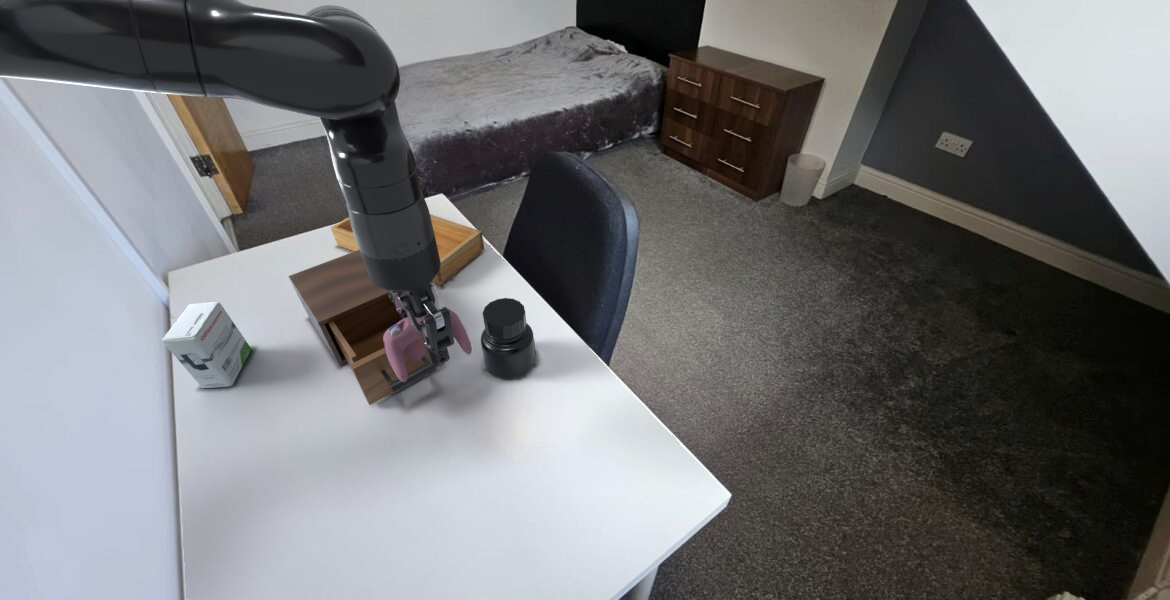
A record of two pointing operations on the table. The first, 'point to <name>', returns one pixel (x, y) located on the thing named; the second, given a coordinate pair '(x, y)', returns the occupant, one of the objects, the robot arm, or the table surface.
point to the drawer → (375, 350)
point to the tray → (451, 240)
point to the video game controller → (416, 343)
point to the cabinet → (335, 293)
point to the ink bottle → (507, 339)
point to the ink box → (208, 344)
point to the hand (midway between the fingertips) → (428, 346)
